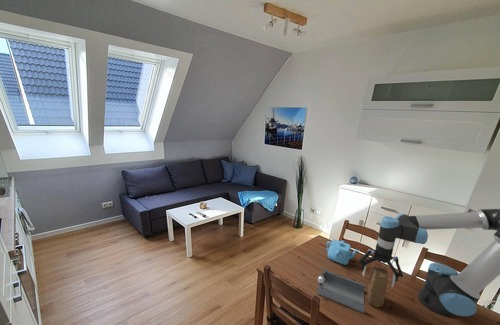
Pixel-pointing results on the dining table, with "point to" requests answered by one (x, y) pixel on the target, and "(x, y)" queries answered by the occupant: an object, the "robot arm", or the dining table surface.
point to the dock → (342, 290)
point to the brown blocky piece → (377, 286)
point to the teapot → (340, 252)
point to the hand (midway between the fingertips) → (377, 280)
